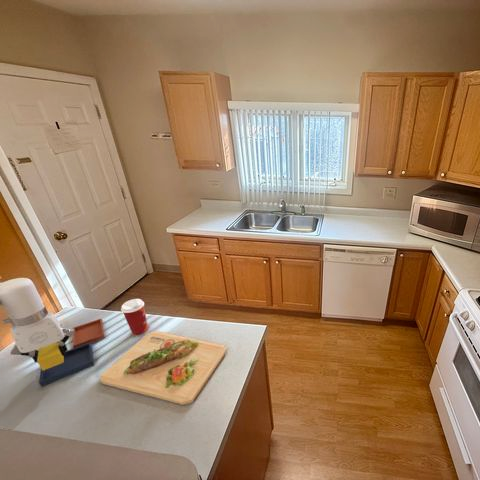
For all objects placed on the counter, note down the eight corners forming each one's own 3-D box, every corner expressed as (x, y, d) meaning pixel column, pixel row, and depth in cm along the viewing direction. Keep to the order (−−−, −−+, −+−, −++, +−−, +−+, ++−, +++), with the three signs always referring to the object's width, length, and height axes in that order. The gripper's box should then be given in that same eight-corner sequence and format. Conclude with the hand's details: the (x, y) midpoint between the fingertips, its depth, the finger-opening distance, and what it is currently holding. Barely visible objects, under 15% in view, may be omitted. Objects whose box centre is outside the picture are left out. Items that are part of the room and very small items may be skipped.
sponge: (63, 362, 86) (58, 352, 84) (42, 370, 83) (36, 361, 81) (64, 347, 91) (59, 338, 89) (44, 355, 88) (39, 345, 86)
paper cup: (154, 329, 108) (147, 302, 102) (134, 340, 102) (125, 312, 96) (145, 321, 112) (137, 295, 106) (125, 332, 106) (116, 305, 100)
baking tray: (41, 387, 83) (38, 382, 82) (44, 364, 90) (41, 360, 89) (94, 365, 91) (92, 361, 90) (92, 346, 98) (90, 342, 97)
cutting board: (229, 349, 100) (227, 335, 97) (189, 407, 79) (186, 391, 76) (152, 333, 106) (148, 319, 103) (96, 383, 85) (89, 367, 82)
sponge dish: (105, 337, 102) (103, 334, 102) (74, 349, 97) (72, 345, 96) (102, 321, 111) (101, 318, 110) (74, 330, 105) (72, 327, 104)
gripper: (-16, 335, 71) (14, 379, 79) (67, 310, 82) (86, 351, 89) (-10, 321, 76) (17, 363, 84) (67, 299, 87) (85, 338, 94)
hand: (52, 356), depth 86 cm, fingers closed on sponge, 5 cm apart
